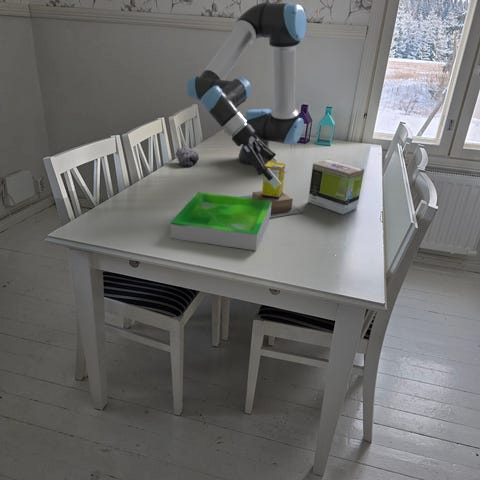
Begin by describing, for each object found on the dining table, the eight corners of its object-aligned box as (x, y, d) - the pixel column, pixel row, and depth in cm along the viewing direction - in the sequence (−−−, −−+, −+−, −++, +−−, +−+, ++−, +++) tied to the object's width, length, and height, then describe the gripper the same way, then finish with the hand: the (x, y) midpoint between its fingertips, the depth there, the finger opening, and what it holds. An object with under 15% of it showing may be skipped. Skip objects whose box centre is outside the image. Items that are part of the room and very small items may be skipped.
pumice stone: (196, 173, 181) (200, 160, 189) (196, 158, 176) (200, 145, 183) (173, 170, 182) (178, 158, 189) (171, 155, 176) (177, 143, 184)
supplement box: (282, 193, 145) (285, 163, 140) (278, 199, 140) (281, 168, 135) (265, 191, 147) (268, 160, 142) (261, 196, 142) (264, 165, 137)
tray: (270, 215, 138) (271, 201, 136) (255, 250, 116) (257, 234, 114) (198, 205, 143) (198, 192, 140) (171, 238, 121) (170, 222, 119)
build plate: (235, 198, 151) (235, 186, 149) (272, 192, 158) (273, 181, 156) (263, 219, 136) (264, 207, 134) (303, 212, 143) (305, 200, 141)
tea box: (357, 208, 149) (365, 168, 142) (342, 215, 142) (349, 173, 136) (322, 196, 158) (328, 157, 151) (306, 202, 152) (312, 162, 145)
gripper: (239, 129, 148) (277, 175, 153) (221, 146, 127) (266, 199, 131) (254, 115, 145) (293, 162, 149) (239, 130, 123) (284, 185, 128)
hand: (280, 179), depth 140 cm, fingers open, 13 cm apart
